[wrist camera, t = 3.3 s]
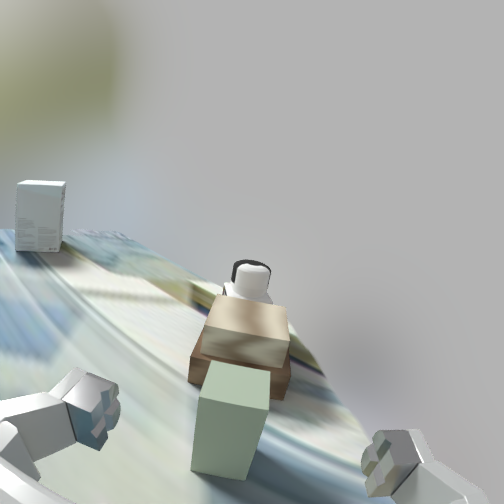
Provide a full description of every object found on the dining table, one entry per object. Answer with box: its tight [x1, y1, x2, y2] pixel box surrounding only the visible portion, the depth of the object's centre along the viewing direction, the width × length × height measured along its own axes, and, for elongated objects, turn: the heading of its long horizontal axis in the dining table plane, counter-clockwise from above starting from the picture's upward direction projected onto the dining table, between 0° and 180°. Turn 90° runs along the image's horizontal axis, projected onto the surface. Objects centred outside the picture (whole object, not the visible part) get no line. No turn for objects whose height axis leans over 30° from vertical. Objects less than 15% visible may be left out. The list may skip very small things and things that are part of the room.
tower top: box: [200, 294, 290, 368], centre depth 40 cm, size 10×10×4 cm
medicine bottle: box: [222, 260, 273, 305], centre depth 50 cm, size 7×7×12 cm
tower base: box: [188, 328, 291, 400], centre depth 40 cm, size 12×12×4 cm
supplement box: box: [15, 180, 66, 252], centre depth 68 cm, size 13×13×18 cm
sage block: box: [191, 360, 270, 481], centre depth 23 cm, size 5×5×10 cm
